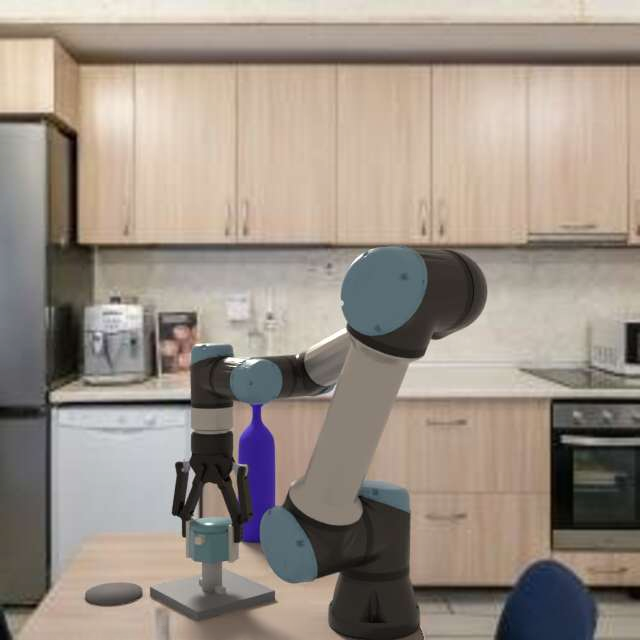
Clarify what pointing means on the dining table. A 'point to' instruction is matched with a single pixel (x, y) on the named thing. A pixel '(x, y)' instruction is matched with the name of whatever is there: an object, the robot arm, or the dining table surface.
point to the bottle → (258, 471)
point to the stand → (211, 592)
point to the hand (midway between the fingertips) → (212, 557)
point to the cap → (209, 539)
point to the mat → (113, 593)
